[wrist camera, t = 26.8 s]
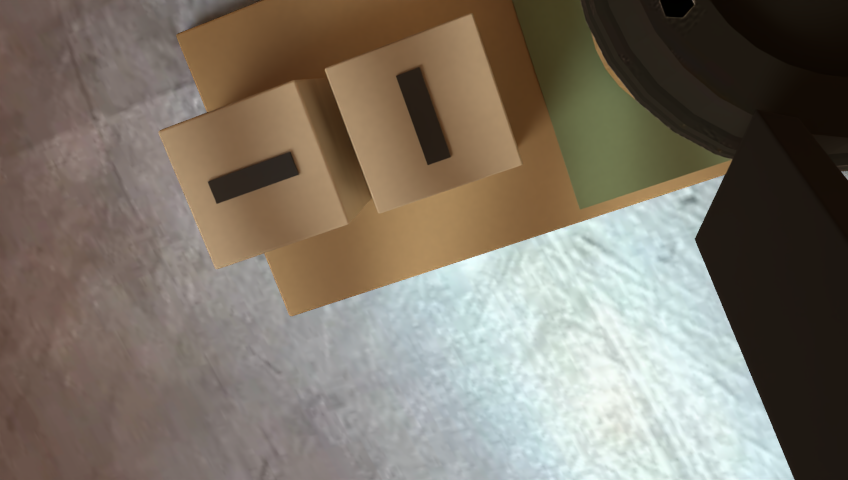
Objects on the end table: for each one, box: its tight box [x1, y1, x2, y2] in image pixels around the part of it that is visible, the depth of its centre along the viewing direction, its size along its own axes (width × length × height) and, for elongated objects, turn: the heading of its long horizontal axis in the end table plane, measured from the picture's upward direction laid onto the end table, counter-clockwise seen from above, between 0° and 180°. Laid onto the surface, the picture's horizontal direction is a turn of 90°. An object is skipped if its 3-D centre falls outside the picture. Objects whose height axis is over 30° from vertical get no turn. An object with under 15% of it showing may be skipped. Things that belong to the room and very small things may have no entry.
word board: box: [159, 0, 732, 316], centre depth 27 cm, size 24×12×6 cm, turn 110°
